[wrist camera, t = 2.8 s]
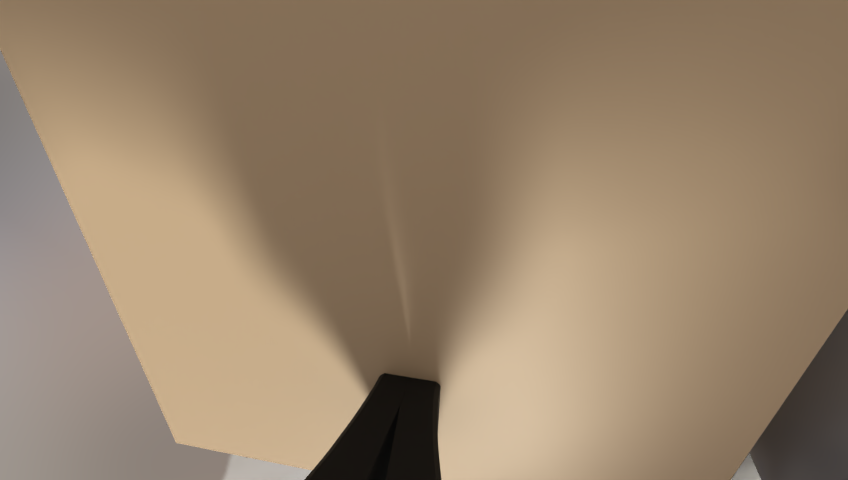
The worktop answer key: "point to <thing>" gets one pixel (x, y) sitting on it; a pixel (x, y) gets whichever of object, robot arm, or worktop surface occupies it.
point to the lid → (458, 215)
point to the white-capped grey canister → (811, 420)
